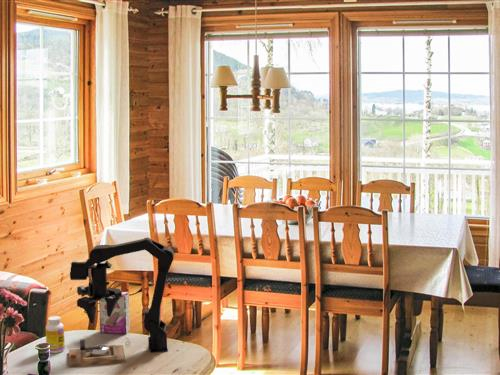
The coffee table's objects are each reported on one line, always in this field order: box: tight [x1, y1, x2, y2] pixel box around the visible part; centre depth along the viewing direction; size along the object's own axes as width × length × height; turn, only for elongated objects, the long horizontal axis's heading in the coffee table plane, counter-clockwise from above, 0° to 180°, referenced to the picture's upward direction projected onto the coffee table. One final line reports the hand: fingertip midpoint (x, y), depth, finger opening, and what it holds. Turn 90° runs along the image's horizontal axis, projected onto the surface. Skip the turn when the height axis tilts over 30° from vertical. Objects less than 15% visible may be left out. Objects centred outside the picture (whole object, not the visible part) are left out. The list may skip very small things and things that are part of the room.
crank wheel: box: [79, 339, 109, 357], centre depth 284 cm, size 10×7×6 cm, turn 106°
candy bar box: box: [98, 291, 131, 335], centre depth 312 cm, size 11×5×16 cm, turn 82°
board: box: [68, 344, 126, 368], centre depth 286 cm, size 20×15×2 cm
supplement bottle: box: [45, 315, 66, 354], centre depth 292 cm, size 7×7×13 cm
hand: (100, 319), depth 291 cm, fingers open, 9 cm apart
